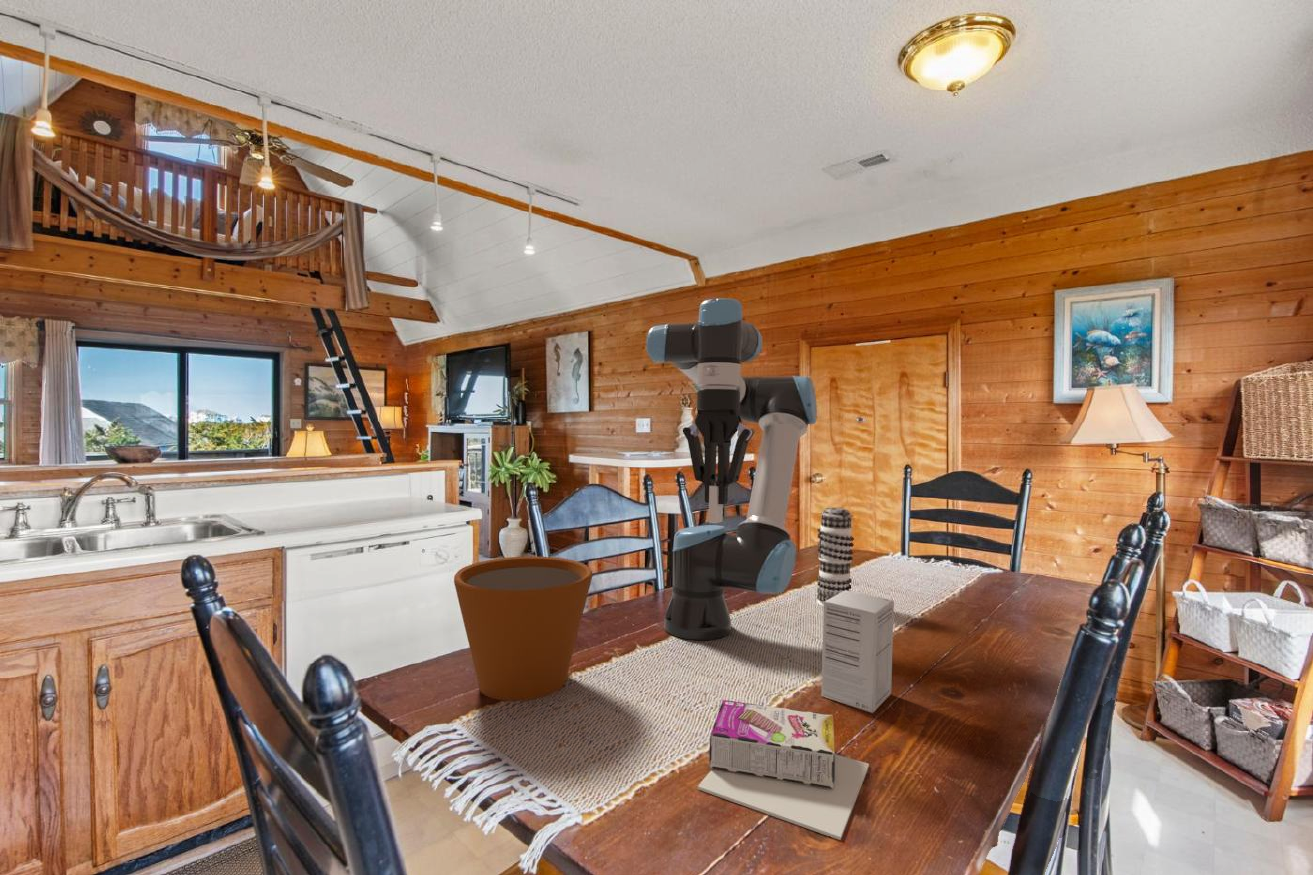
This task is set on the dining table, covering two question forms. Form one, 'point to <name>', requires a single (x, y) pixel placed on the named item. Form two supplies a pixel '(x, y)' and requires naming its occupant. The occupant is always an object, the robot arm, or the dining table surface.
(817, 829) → the mat
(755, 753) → the candy bar box
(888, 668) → the supplement box
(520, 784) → the dining table surface
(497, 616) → the flower pot
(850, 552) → the decorative candle
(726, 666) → the dining table surface
